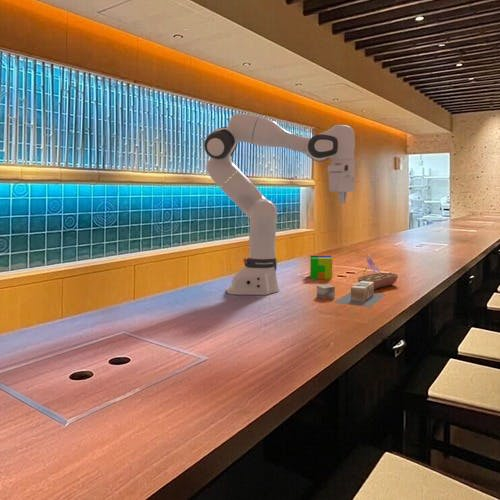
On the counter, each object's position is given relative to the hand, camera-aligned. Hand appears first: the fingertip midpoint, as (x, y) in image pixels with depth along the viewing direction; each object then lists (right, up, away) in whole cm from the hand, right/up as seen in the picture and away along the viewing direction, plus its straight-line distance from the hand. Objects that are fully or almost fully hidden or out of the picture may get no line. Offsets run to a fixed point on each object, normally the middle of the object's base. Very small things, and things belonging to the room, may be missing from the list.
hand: (342, 203), depth 183 cm
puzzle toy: (-1, -32, +46) cm, 56 cm away
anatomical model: (+19, -35, +21) cm, 45 cm away
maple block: (+5, -35, -5) cm, 36 cm away
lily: (+25, -31, +53) cm, 66 cm away
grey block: (-6, -37, +1) cm, 38 cm away
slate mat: (+7, -38, -1) cm, 38 cm away
